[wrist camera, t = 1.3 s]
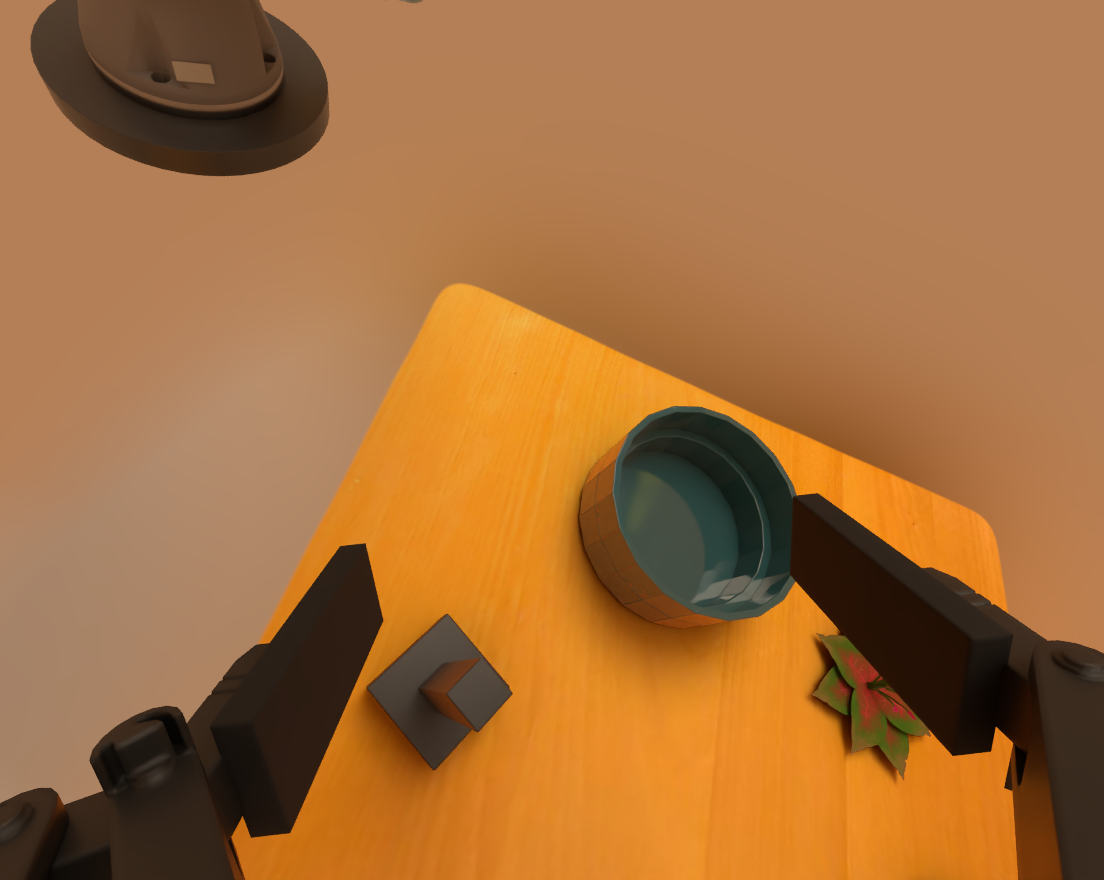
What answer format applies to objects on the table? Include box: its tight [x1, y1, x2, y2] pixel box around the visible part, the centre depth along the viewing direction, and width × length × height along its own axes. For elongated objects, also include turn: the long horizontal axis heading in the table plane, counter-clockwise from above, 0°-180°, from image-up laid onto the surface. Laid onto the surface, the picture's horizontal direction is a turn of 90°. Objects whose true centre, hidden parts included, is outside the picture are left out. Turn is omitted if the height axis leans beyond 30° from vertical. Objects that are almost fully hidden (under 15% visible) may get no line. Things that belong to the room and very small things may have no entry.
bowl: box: [579, 406, 797, 628], centre depth 38 cm, size 15×15×6 cm
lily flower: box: [811, 633, 931, 780], centre depth 39 cm, size 12×12×5 cm
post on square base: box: [367, 614, 512, 770], centre depth 25 cm, size 6×6×14 cm
